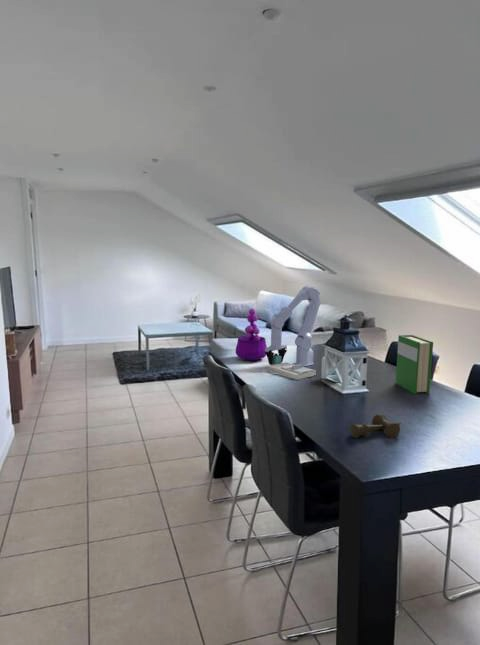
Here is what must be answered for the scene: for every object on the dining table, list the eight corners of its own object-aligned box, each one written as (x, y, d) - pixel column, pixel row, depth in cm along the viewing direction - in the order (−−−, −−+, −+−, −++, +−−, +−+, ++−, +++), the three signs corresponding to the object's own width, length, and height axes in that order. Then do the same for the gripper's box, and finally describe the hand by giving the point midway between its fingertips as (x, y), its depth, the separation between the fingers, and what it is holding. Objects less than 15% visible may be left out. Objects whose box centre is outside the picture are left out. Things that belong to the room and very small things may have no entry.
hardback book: (429, 393, 219) (433, 342, 216) (414, 394, 218) (418, 342, 214) (409, 382, 237) (412, 334, 233) (395, 383, 235) (398, 335, 232)
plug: (275, 365, 269) (276, 352, 268) (281, 366, 266) (281, 353, 264) (270, 366, 266) (270, 353, 265) (275, 367, 263) (275, 355, 262)
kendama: (345, 433, 173) (392, 426, 179) (360, 444, 164) (409, 436, 170) (345, 418, 171) (393, 411, 178) (360, 428, 162) (410, 420, 169)
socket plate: (285, 366, 265) (286, 361, 265) (318, 376, 247) (318, 370, 246) (266, 370, 257) (267, 364, 256) (299, 380, 238) (299, 374, 238)
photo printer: (319, 378, 242) (320, 354, 240) (325, 377, 244) (326, 353, 242) (335, 383, 234) (336, 358, 232) (341, 382, 237) (342, 357, 235)
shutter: (301, 368, 251) (301, 363, 251) (310, 371, 246) (311, 366, 245) (291, 370, 247) (291, 365, 246) (301, 373, 241) (301, 368, 241)
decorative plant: (230, 357, 287) (230, 307, 282) (258, 354, 294) (259, 306, 290) (244, 364, 270) (244, 311, 265) (272, 361, 278) (274, 309, 273)
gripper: (280, 336, 271) (280, 359, 273) (261, 339, 262) (260, 363, 264) (289, 338, 266) (288, 362, 268) (270, 341, 257) (269, 365, 259)
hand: (275, 363), depth 266 cm, fingers open, 7 cm apart
